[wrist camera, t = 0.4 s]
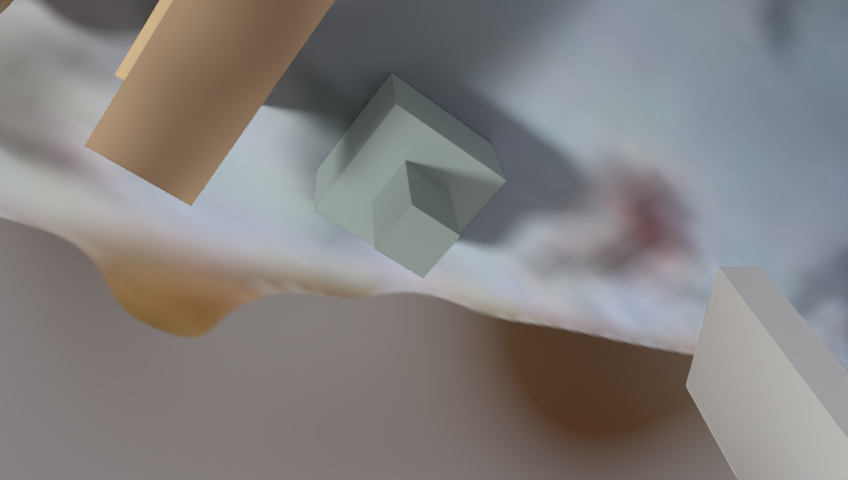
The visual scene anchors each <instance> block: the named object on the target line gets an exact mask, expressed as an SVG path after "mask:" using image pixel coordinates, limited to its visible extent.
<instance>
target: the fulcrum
mask: <svg viewBox="0 0 848 480" xmlns="http://www.w3.org/2000/svg"><path fill="white" fill-rule="evenodd" d="M506 181H507V180H506V178H505V175H504V173H503V170H502V168H501V165H500V163H499V160H498V158H497V155H496V153H495V150H494V148H493V145H492V143H490V142H489V141H487V140H486V139H485V138H483V137H482V136H480V135H479V134H478V133H476V132H475V131H473V130H472V129H471V128H469V127H468V126H466V125H465V124H464V123H462V122H461V121H459V120H458V119H457V118H455V117H454V116H452V115H451V114H450V113H448V112H447V111H445V110H444V109H443V108H441V107H440V106H438V105H437V104H436V103H434V102H433V101H431V100H430V99H429V98H427V97H426V96H424V95H423V94H421V93H420V92H419V91H417V90H416V89H414V88H413V87H412V86H410V85H409V84H407V83H406V82H405V81H403V80H402V79H400V78H399V77H398V76H396V75H395V74H393V73H392V72H391V73H390V75H389V76H388V77H387V79H386V80H385V81H384V83H383V84H382V85H381V86H380V88H379V89H378V90H377V92H376V93H375V94H374V96H373V97H372V98H371V100H370V101H369V102H368V104H367V105H366V106H365V107H364V109H363V110H362V111H361V113H360V114H359V115H358V117H357V118H356V119H355V121H354V122H353V123H352V125H351V126H350V127H349V128H348V130H347V131H346V132H345V134H344V135H343V136H342V138H341V139H340V140H339V142H338V143H337V144H336V146H335V147H334V148H333V149H332V151H331V152H330V153H329V155H328V156H327V157H326V159H325V160H324V161H323V163H322V164H321V165H320V167H319V168H318V169H317V173H316V186H315V200H314V211H316V212H318V213H319V214H321V215H323V216H324V217H326V218H328V219H329V220H331V221H333V222H334V223H336V224H338V225H339V226H341V227H343V228H344V229H346V230H348V231H349V232H351V233H352V234H354V235H356V236H357V237H359V238H361V239H362V240H364V241H366V242H367V243H369V244H371V245H372V246H374V247H375V250H377V251H379V252H380V253H382V254H384V255H385V256H387V257H389V258H390V259H392V260H394V261H395V262H397V263H399V264H400V265H402V266H404V267H405V268H407V269H409V270H410V271H412V272H414V273H415V274H417V275H419V276H420V277H422V278H424V277H425V275H426V274H427V273H428V272H429V271H430V270H431V269H432V268H433V266H434V265H435V264H436V263H437V262H438V261H439V260H440V259H441V257H442V256H443V255H444V254H445V253H446V252H447V251H448V250H449V248H450V247H451V246H452V245H453V244H454V243H455V242H456V241H457V239H458V238H459V237H460V233H461V232H462V231H463V230H464V228H465V227H466V226H467V225H468V224H469V223H470V222H471V220H472V219H473V218H474V217H475V216H476V215H477V214H478V213H479V211H480V210H481V209H482V208H483V207H484V206H485V205H486V204H487V202H488V201H489V200H490V199H491V198H492V197H493V196H494V195H495V193H496V192H497V191H498V190H499V189H500V188H501V187H502V185H503V184H504V183H505V182H506Z"/></svg>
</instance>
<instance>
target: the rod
mask: <svg viewBox="0 0 848 480" xmlns="http://www.w3.org/2000/svg"><path fill="white" fill-rule="evenodd" d="M334 1H335V0H173V1H172V3H171V5H170V6H169V8H168V9H167V11H166V13H165V14H164V16H163V18H162V19H161V21H160V23H159V24H158V26H157V28H156V29H155V31H154V32H153V34H152V36H151V37H150V39H149V41H148V42H147V44H146V46H145V47H144V49H143V51H142V52H141V54H140V55H139V57H138V59H137V60H136V62H135V64H134V65H133V67H132V69H131V70H130V72H129V74H128V75H127V77H126V78H125V80H124V82H123V83H122V85H121V87H120V88H119V90H118V92H117V93H116V95H115V97H114V98H113V100H112V101H111V103H110V105H109V106H108V108H107V110H106V111H105V113H104V115H103V116H102V118H101V120H100V121H99V123H98V124H97V126H96V128H95V129H94V131H93V133H92V134H91V136H90V138H89V139H88V141H87V143H86V144H85V146H86V147H88V148H90V149H91V150H93V151H95V152H97V153H99V154H100V155H102V156H104V157H106V158H107V159H109V160H111V161H113V162H114V163H116V164H118V165H120V166H121V167H123V168H125V169H127V170H129V171H130V172H132V173H134V174H136V175H137V176H139V177H141V178H143V179H144V180H146V181H148V182H150V183H151V184H153V185H155V186H157V187H159V188H160V189H162V190H164V191H166V192H167V193H169V194H171V195H173V196H174V197H176V198H178V199H180V200H181V201H183V202H185V203H187V204H189V205H190V206H191V205H192V204H193V203H194V201H195V200H196V198H197V197H198V195H199V194H200V193H201V191H202V190H203V188H204V187H205V185H206V184H207V183H208V181H209V180H210V178H211V177H212V175H213V174H214V173H215V171H216V170H217V168H218V167H219V165H220V164H221V163H222V161H223V160H224V158H225V157H226V155H227V154H228V153H229V151H230V150H231V148H232V147H233V145H234V144H235V143H236V141H237V140H238V138H239V137H240V135H241V134H242V133H243V131H244V130H245V128H246V127H247V125H248V124H249V123H250V121H251V120H252V118H253V117H254V115H255V114H256V113H257V111H258V110H259V108H260V107H261V105H262V104H263V103H264V101H265V100H266V98H267V97H268V95H269V94H270V93H271V91H272V90H273V88H274V87H275V85H276V84H277V83H278V81H279V80H280V78H281V77H282V75H283V74H284V73H285V71H286V70H287V68H288V67H289V65H290V64H291V63H292V61H293V60H294V58H295V57H296V55H297V54H298V53H299V51H300V50H301V48H302V47H303V45H304V44H305V42H306V41H307V40H308V38H309V37H310V35H311V34H312V32H313V31H314V30H315V28H316V27H317V25H318V24H319V22H320V21H321V20H322V18H323V17H324V15H325V14H326V12H327V11H328V10H329V8H330V7H331V5H332V4H333V2H334Z"/></svg>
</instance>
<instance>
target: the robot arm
mask: <svg viewBox="0 0 848 480" xmlns="http://www.w3.org/2000/svg"><path fill="white" fill-rule="evenodd" d="M686 387H687V389H688V391H689V393H690V395H691V396H692V398H693V400H694V402H695V404H696V405H697V407H698V409H699V411H700V412H701V414H702V416H703V418H704V420H705V422H706V424H707V425H708V427H709V429H710V431H711V433H712V434H713V436H714V438H715V440H716V442H717V443H718V445H719V447H720V449H721V451H722V452H723V454H724V456H725V458H726V460H727V462H728V463H729V465H730V467H731V469H732V471H733V472H734V474H735V476H736V478H737V480H848V372H847V370H846V369H845V368H844V367H843V366H842V364H841V363H840V362H839V361H838V360H837V358H836V357H835V356H834V355H833V354H832V352H831V351H830V350H829V349H828V348H827V346H826V345H825V344H824V343H823V342H822V341H821V339H820V338H819V337H818V336H817V335H816V333H815V332H814V331H813V330H812V329H811V327H810V326H809V325H808V324H807V323H806V321H805V320H804V319H803V318H802V317H801V315H800V314H799V313H798V312H797V311H796V309H795V308H794V307H793V306H792V305H791V304H790V302H789V301H788V300H787V299H786V298H785V296H784V295H783V294H782V293H781V292H780V290H779V289H778V288H777V287H776V286H775V284H774V283H773V282H772V281H771V280H770V278H769V277H768V276H767V275H766V274H765V272H764V271H763V270H762V269H761V268H760V267H718V271H717V274H716V278H715V282H714V285H713V289H712V293H711V296H710V300H709V303H708V307H707V311H706V314H705V318H704V322H703V325H702V329H701V332H700V336H699V340H698V343H697V347H696V351H695V354H694V358H693V361H692V365H691V369H690V373H689V376H688V380H687V383H686Z"/></svg>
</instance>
